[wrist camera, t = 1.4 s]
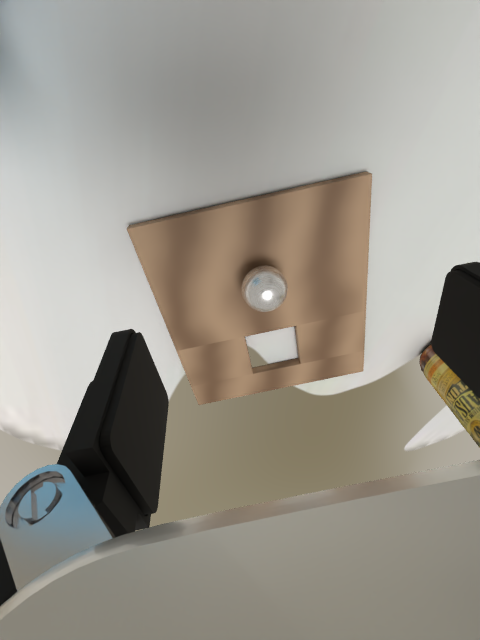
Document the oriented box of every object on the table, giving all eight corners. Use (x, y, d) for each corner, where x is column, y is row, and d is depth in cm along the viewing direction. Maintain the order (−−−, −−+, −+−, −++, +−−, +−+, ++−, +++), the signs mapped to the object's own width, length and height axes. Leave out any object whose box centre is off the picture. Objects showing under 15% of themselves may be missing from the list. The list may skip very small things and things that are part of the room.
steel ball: (279, 253, 28) (289, 273, 25) (284, 292, 30) (294, 315, 27) (235, 263, 28) (239, 284, 25) (243, 300, 31) (248, 325, 27)
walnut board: (366, 171, 26) (371, 173, 25) (359, 365, 38) (363, 371, 38) (129, 225, 26) (126, 229, 26) (198, 398, 39) (198, 405, 38)
